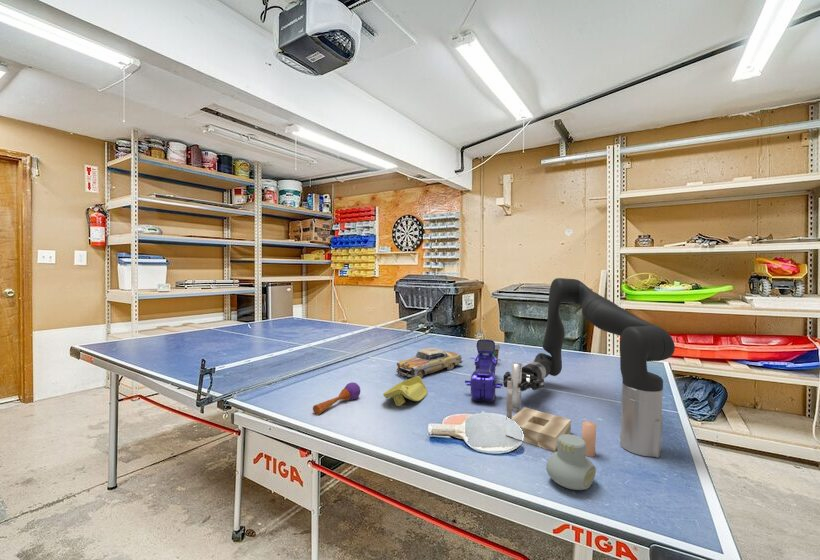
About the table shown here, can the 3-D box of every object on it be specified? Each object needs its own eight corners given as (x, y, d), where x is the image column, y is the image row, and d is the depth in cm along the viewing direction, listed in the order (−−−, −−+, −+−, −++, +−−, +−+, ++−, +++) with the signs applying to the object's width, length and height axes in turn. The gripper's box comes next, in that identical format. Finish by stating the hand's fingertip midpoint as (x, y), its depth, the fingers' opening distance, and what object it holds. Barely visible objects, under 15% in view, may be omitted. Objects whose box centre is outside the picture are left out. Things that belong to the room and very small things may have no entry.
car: (392, 375, 160) (392, 353, 160) (445, 361, 183) (445, 341, 182) (411, 382, 151) (411, 359, 151) (464, 367, 174) (465, 346, 173)
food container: (471, 362, 180) (471, 342, 180) (477, 360, 185) (478, 340, 184) (493, 367, 172) (493, 346, 171) (499, 365, 176) (500, 344, 176)
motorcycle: (470, 374, 163) (470, 335, 162) (501, 376, 160) (502, 336, 159) (462, 404, 129) (463, 355, 128) (502, 408, 126) (503, 358, 125)
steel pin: (522, 410, 124) (523, 363, 123) (518, 413, 121) (519, 365, 120) (513, 407, 126) (514, 361, 125) (509, 410, 123) (510, 363, 122)
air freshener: (563, 465, 91) (564, 426, 90) (598, 480, 85) (599, 438, 84) (541, 483, 83) (543, 441, 83) (578, 501, 77) (580, 455, 77)
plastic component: (399, 382, 144) (421, 374, 141) (406, 400, 143) (428, 392, 140) (378, 396, 125) (403, 387, 122) (386, 417, 124) (411, 408, 121)
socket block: (570, 432, 108) (572, 379, 107) (554, 452, 97) (556, 392, 96) (524, 419, 117) (525, 370, 116) (505, 435, 106) (506, 381, 105)
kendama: (308, 400, 121) (350, 380, 138) (312, 418, 121) (353, 395, 138) (320, 401, 118) (361, 380, 134) (324, 419, 118) (365, 396, 134)
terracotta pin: (596, 453, 97) (597, 423, 96) (593, 458, 94) (594, 427, 94) (583, 449, 99) (584, 420, 98) (580, 453, 96) (581, 424, 96)
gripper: (513, 360, 139) (493, 370, 125) (552, 367, 129) (534, 379, 116) (513, 379, 139) (493, 392, 126) (551, 388, 130) (534, 402, 117)
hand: (513, 386), depth 121 cm, fingers open, 5 cm apart
